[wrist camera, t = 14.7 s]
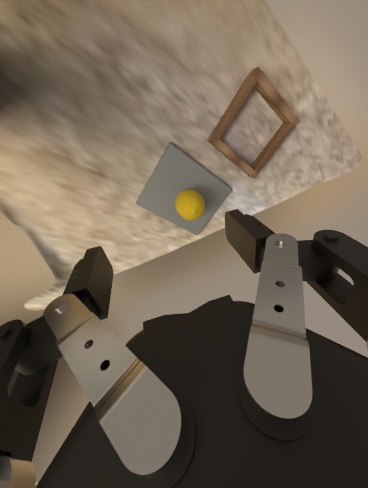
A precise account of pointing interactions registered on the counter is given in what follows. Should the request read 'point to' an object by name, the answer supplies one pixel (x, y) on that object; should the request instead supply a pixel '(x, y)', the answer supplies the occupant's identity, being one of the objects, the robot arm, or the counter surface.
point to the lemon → (190, 204)
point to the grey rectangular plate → (181, 189)
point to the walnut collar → (252, 80)
